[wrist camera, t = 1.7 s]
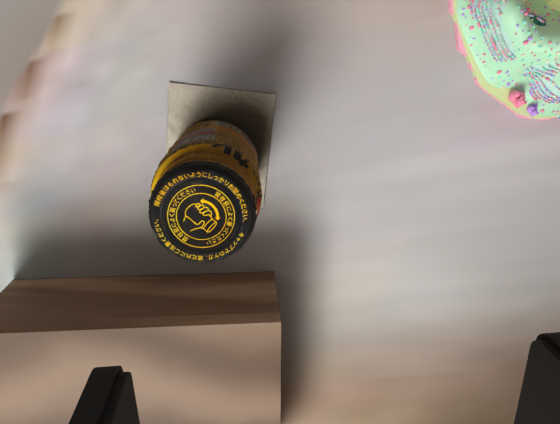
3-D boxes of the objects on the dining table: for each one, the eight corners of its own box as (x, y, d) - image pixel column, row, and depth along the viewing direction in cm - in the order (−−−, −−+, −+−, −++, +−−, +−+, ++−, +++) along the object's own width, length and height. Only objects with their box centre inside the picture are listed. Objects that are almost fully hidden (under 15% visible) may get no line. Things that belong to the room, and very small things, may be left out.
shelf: (273, 436, 42) (279, 510, 36) (49, 450, 41) (11, 529, 34) (273, 271, 37) (281, 322, 30) (13, 279, 35) (-42, 335, 28)
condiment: (165, 199, 34) (128, 274, 23) (169, 82, 31) (129, 101, 20) (262, 207, 35) (273, 284, 24) (275, 93, 32) (294, 118, 21)
